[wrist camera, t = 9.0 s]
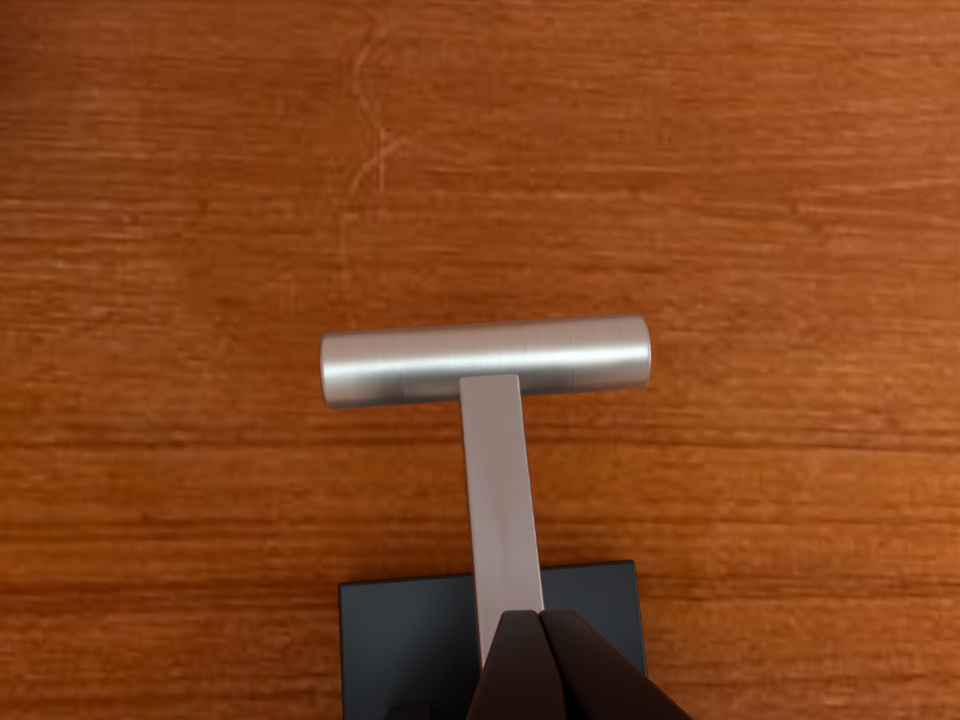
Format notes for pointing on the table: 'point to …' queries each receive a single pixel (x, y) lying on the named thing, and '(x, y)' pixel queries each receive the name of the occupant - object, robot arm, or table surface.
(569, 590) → the bracket
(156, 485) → the table surface
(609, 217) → the table surface
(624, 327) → the lever
